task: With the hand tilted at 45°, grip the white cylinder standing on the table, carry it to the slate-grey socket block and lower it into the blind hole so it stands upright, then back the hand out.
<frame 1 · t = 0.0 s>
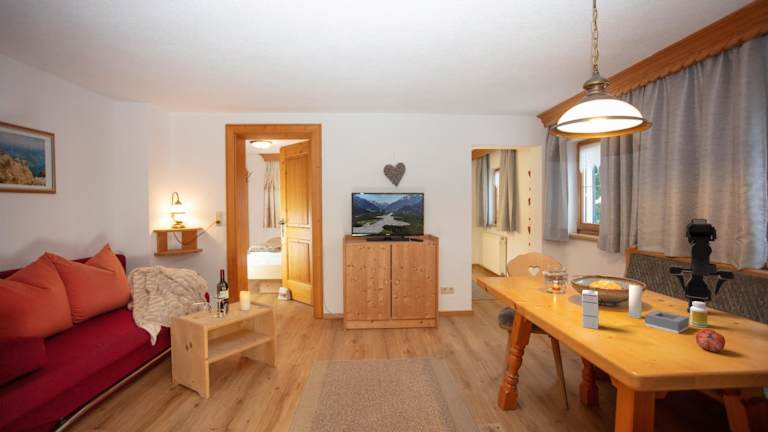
hand: (699, 293, 135), 15 cm above the table, tool pointing down, fingers open, 9 cm apart
supplement bottle: (698, 326, 140), on the table
socket: (666, 326, 139), on the table
syrup box: (590, 326, 141), on the table
pomegranate: (709, 350, 117), on the table
white cylinder: (635, 316, 151), on the table
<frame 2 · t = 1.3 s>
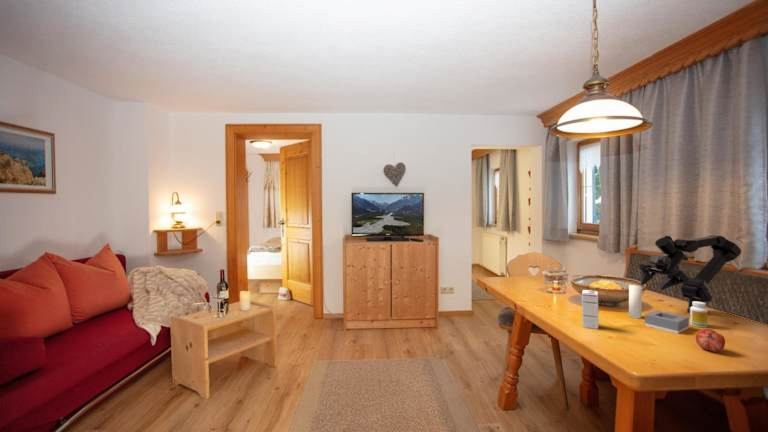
hand: (651, 286, 152), 13 cm above the table, tool tilted 45°, fingers open, 9 cm apart
nothing on the table moved.
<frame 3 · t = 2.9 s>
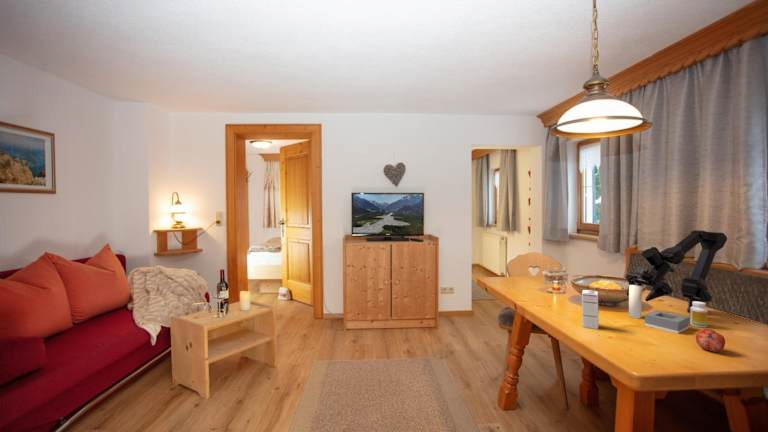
hand: (636, 297, 151), 9 cm above the table, tool tilted 45°, fingers open, 9 cm apart
nothing on the table moved.
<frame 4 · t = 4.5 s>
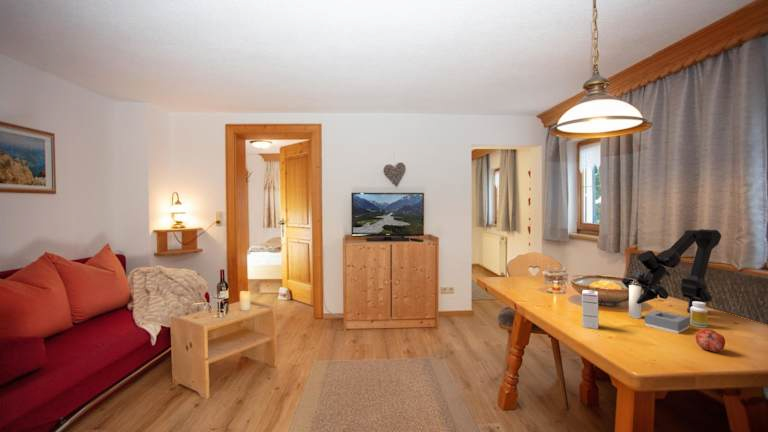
hand: (632, 301, 151), 7 cm above the table, tool tilted 45°, fingers closed on white cylinder, 5 cm apart
white cylinder: (635, 316, 151), on the table, touching gripper
everything else where it was.
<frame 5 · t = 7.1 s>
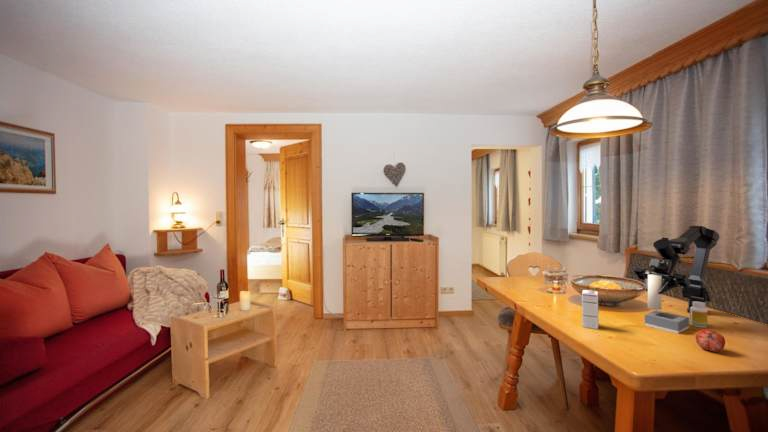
hand: (652, 292, 142), 13 cm above the table, tool tilted 45°, fingers closed on white cylinder, 5 cm apart
white cylinder: (654, 308, 143), point 7 cm above the table, touching gripper
everything else where it was.
when the fingers open (9 cm above the table, at t = 9.8 s): white cylinder stays where it is, resting on socket.
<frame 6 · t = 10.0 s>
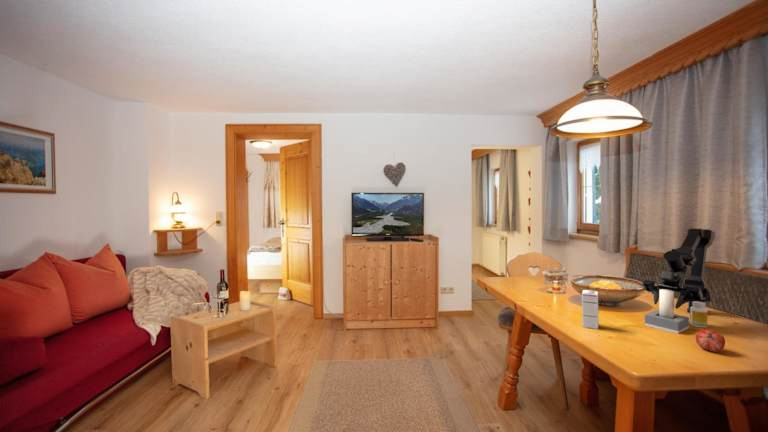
hand: (665, 305, 138), 9 cm above the table, tool tilted 45°, fingers open, 7 cm apart
white cylinder: (666, 324, 139), point 1 cm above the table, touching socket
everything else where it was.
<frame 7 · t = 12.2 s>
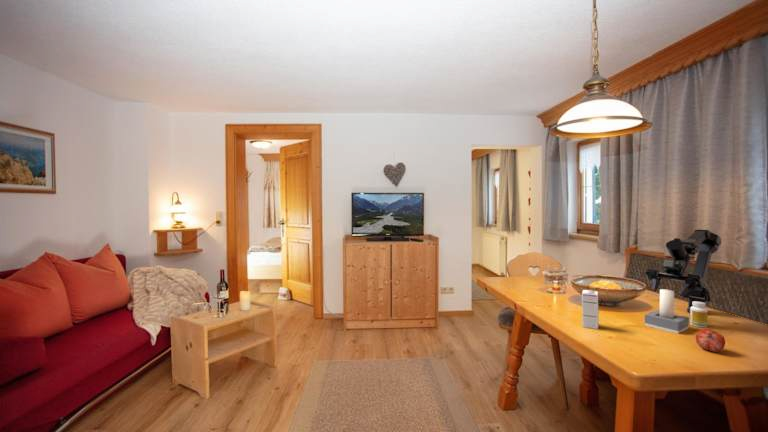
hand: (667, 293, 142), 13 cm above the table, tool tilted 45°, fingers open, 9 cm apart
nothing on the table moved.
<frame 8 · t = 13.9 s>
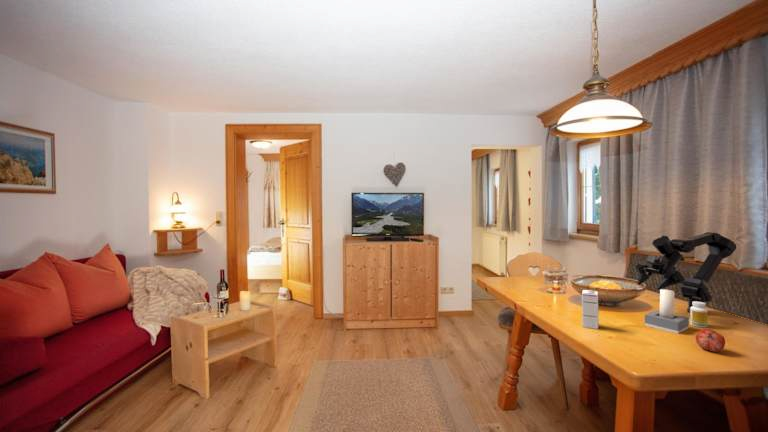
hand: (647, 286, 151), 14 cm above the table, tool tilted 45°, fingers open, 9 cm apart
nothing on the table moved.
at the end: white cylinder 0.0 cm off-centre on the socket, point 1.0 cm above the socket's base; white cylinder tilted 1°; the gripper is holding nothing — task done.
